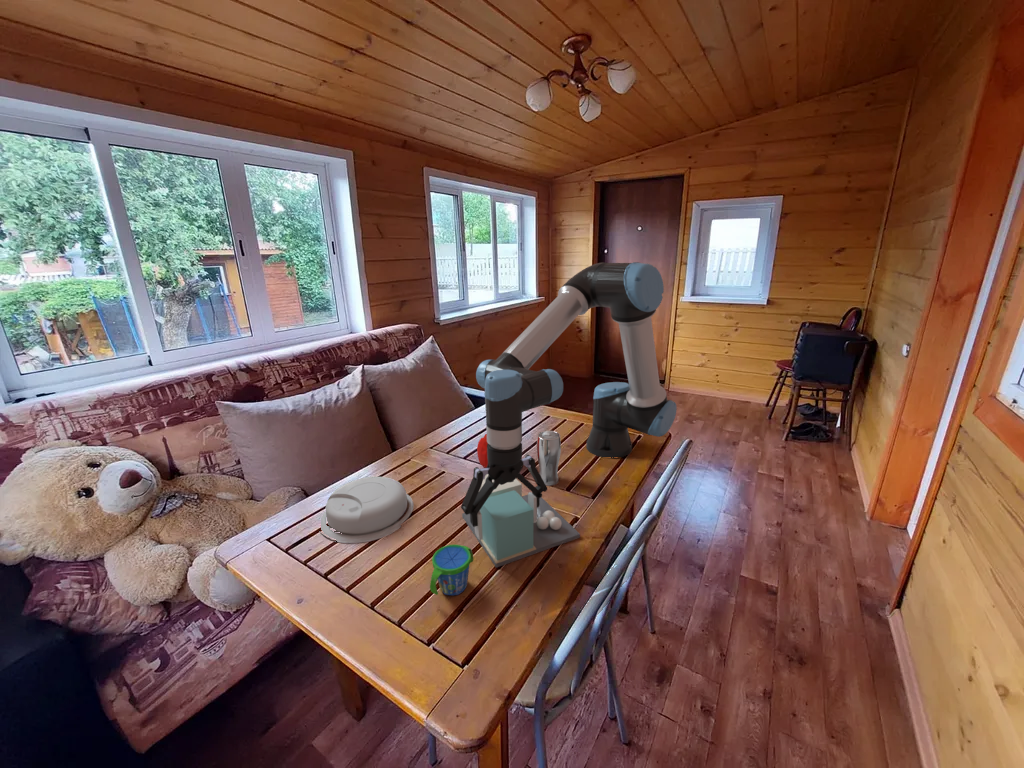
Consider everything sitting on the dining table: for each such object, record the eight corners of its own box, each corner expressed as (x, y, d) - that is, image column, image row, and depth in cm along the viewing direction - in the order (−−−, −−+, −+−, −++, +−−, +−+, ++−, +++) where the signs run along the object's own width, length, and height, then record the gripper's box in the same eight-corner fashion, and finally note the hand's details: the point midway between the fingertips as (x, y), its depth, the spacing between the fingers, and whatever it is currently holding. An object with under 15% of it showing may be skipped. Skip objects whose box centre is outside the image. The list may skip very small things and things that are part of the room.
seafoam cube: (515, 526, 104) (514, 490, 101) (533, 547, 96) (533, 509, 93) (481, 537, 100) (479, 500, 97) (497, 560, 92) (496, 520, 90)
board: (536, 495, 120) (536, 491, 119) (579, 537, 102) (580, 532, 101) (462, 516, 110) (462, 512, 110) (496, 567, 92) (495, 562, 92)
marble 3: (557, 523, 105) (557, 513, 104) (564, 530, 103) (564, 519, 102) (546, 527, 104) (547, 516, 103) (553, 533, 101) (553, 523, 101)
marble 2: (550, 517, 108) (550, 506, 107) (557, 523, 105) (557, 512, 104) (540, 520, 107) (540, 509, 106) (546, 526, 104) (546, 516, 103)
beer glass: (558, 488, 123) (559, 440, 118) (535, 486, 124) (535, 439, 120) (561, 476, 129) (562, 430, 125) (538, 474, 131) (538, 429, 126)
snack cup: (445, 614, 81) (442, 581, 78) (419, 594, 85) (416, 563, 83) (486, 579, 89) (485, 549, 87) (461, 563, 94) (459, 534, 91)
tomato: (470, 472, 132) (469, 441, 129) (488, 454, 144) (487, 425, 141) (511, 480, 128) (510, 448, 124) (526, 461, 139) (526, 431, 136)
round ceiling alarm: (434, 513, 113) (432, 492, 111) (340, 558, 97) (337, 535, 95) (389, 479, 130) (387, 460, 128) (303, 512, 114) (300, 491, 112)
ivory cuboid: (506, 501, 115) (505, 468, 112) (522, 519, 107) (521, 484, 104) (475, 510, 111) (473, 476, 108) (489, 529, 103) (488, 493, 100)
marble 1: (544, 523, 105) (544, 512, 105) (551, 530, 103) (551, 519, 102) (534, 526, 104) (534, 516, 103) (540, 533, 102) (540, 522, 101)
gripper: (545, 425, 99) (544, 505, 106) (442, 448, 89) (448, 534, 95) (563, 437, 93) (561, 521, 99) (454, 462, 82) (460, 554, 89)
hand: (506, 527), depth 97 cm, fingers open, 13 cm apart
